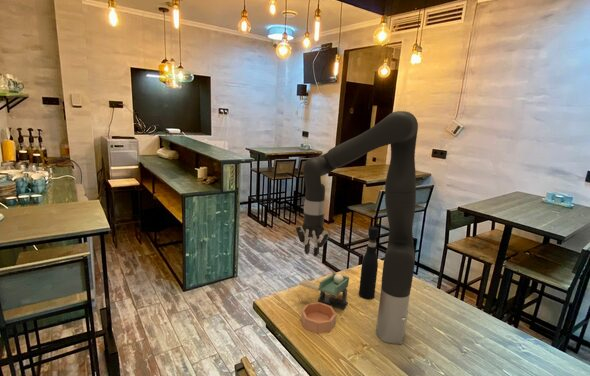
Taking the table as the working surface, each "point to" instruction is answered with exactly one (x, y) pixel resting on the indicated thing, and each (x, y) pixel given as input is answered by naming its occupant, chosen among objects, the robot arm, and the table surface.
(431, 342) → the table surface
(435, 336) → the table surface
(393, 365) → the table surface
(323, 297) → the chute stand
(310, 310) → the pink octagonal bowl
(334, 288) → the chute
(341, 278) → the ball
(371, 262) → the wine bottle
